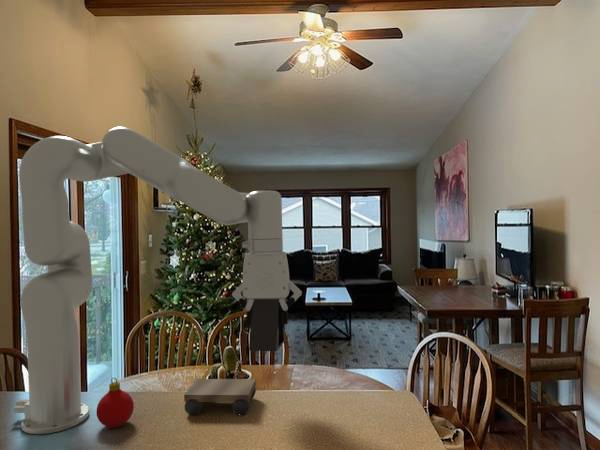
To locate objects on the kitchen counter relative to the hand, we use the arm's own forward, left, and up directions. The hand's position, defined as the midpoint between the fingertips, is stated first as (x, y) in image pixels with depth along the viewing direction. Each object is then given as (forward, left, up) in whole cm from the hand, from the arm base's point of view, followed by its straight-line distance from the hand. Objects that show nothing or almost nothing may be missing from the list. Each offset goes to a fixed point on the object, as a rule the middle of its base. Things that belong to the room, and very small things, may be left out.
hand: (267, 326), depth 97 cm
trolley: (-11, 0, -18) cm, 21 cm away
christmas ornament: (-31, -9, -18) cm, 37 cm away
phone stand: (0, 0, -4) cm, 4 cm away
